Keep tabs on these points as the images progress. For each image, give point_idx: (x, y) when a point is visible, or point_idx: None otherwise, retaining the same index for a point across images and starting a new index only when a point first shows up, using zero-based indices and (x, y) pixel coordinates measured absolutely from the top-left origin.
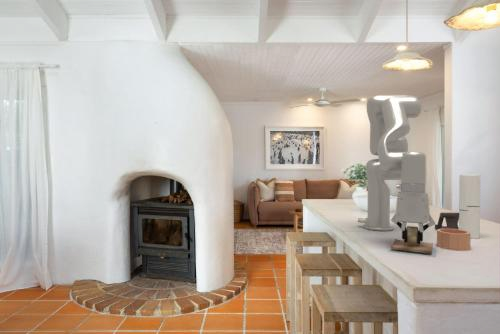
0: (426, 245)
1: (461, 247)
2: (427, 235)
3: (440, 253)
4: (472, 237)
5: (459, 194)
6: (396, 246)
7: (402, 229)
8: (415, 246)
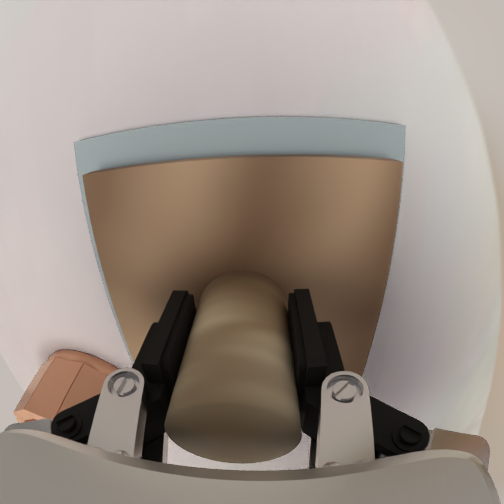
0: None
1: (46, 365)
2: None
3: (94, 293)
4: None
5: None
6: (362, 187)
7: (348, 384)
8: (211, 269)
